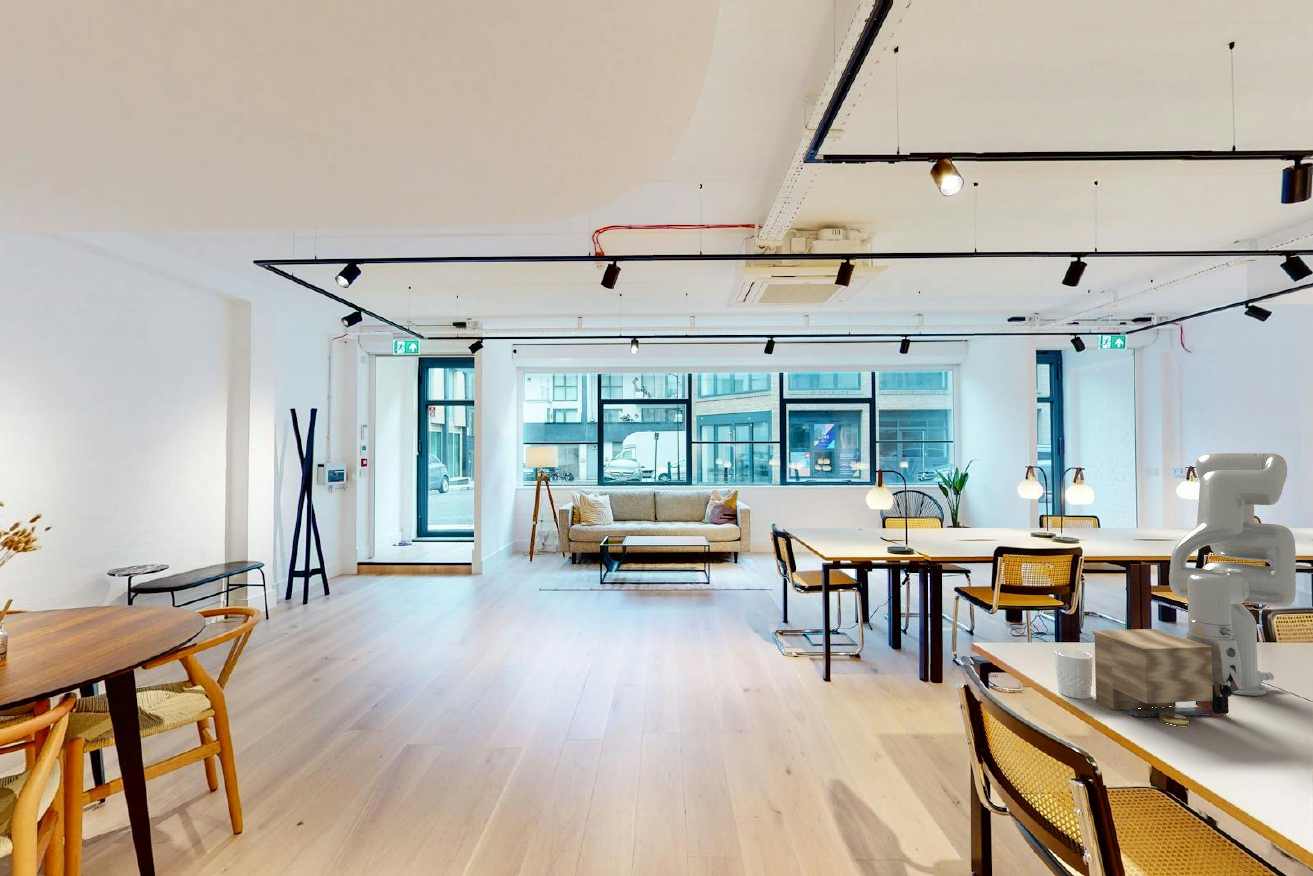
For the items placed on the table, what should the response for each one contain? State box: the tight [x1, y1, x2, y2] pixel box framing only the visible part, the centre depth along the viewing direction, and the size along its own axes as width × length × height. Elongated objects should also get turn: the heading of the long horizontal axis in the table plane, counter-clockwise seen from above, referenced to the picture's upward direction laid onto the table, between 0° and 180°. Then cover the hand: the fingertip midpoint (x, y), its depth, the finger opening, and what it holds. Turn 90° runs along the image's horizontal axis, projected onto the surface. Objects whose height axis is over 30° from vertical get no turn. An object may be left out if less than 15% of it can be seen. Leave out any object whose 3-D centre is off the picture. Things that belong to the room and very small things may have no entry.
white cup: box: [1054, 648, 1094, 700], centre depth 156 cm, size 8×8×10 cm
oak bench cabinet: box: [1092, 628, 1213, 711], centre depth 145 cm, size 16×14×17 cm
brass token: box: [1158, 712, 1189, 727], centre depth 139 cm, size 5×5×1 cm
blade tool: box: [1128, 681, 1227, 718], centre depth 143 cm, size 21×4×7 cm, turn 95°
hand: (1211, 708), depth 144 cm, fingers closed on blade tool, 3 cm apart
